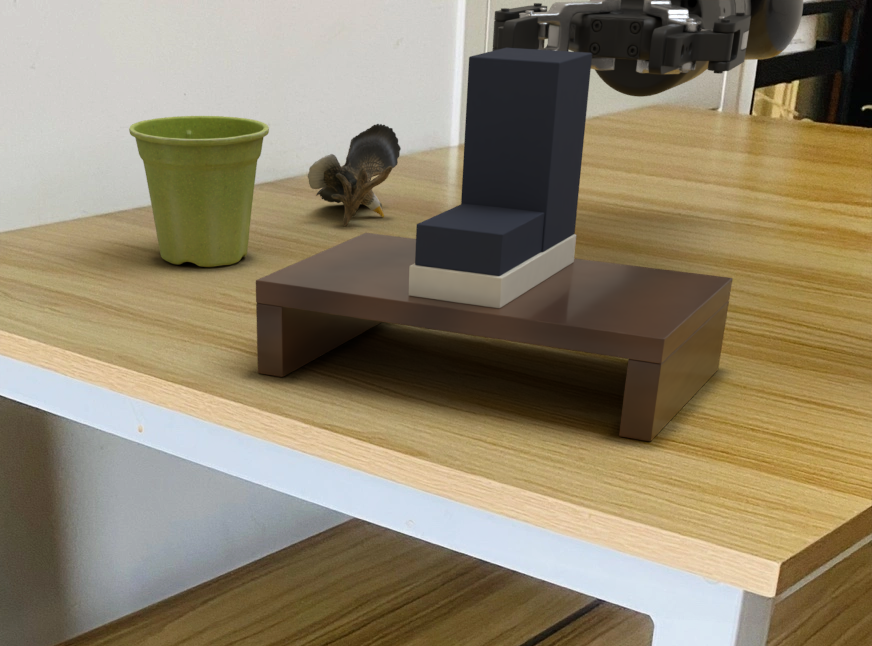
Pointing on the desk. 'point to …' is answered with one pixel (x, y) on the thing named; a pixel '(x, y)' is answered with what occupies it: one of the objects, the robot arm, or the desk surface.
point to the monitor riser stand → (509, 318)
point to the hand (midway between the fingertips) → (580, 48)
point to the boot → (510, 181)
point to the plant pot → (201, 184)
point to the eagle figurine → (357, 171)
